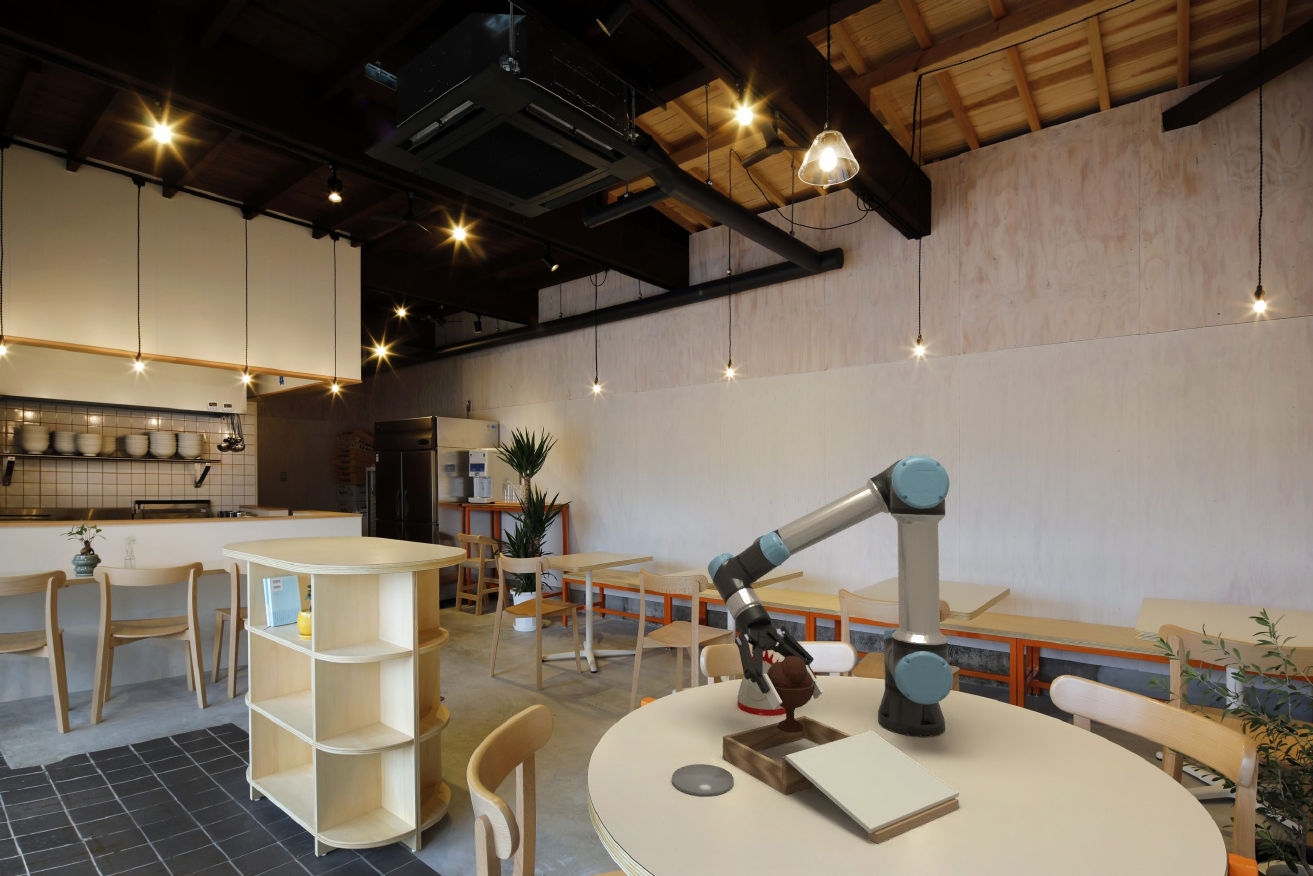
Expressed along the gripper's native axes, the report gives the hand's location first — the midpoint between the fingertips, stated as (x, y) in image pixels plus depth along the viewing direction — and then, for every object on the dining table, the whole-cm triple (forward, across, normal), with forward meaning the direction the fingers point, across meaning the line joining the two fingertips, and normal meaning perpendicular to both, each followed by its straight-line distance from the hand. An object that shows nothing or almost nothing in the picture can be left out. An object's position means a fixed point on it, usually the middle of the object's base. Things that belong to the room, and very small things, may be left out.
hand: (799, 700), depth 134 cm
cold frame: (+8, 0, -10) cm, 13 cm away
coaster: (+6, +22, -12) cm, 26 cm away
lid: (+22, 0, +3) cm, 22 cm away
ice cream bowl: (+3, 0, -6) cm, 7 cm away
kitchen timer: (-13, -18, -31) cm, 38 cm away
